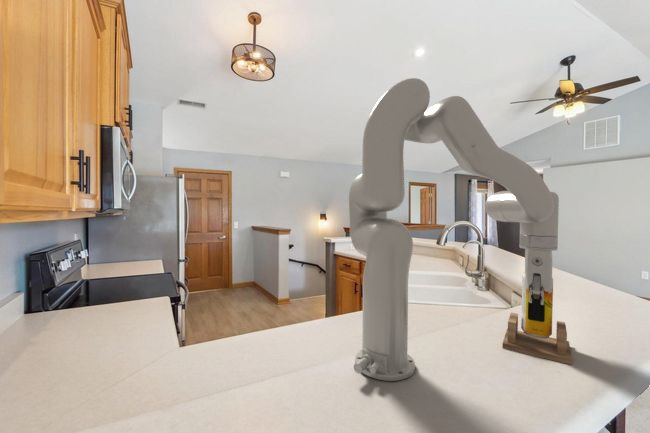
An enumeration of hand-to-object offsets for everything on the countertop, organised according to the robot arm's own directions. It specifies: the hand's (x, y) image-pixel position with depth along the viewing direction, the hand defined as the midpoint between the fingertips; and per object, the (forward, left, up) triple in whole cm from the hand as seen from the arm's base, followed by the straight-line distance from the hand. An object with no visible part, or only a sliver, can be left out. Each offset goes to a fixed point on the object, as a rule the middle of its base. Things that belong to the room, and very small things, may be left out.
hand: (536, 315), depth 72 cm
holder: (0, 0, -8) cm, 8 cm away
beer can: (0, 0, -5) cm, 5 cm away
